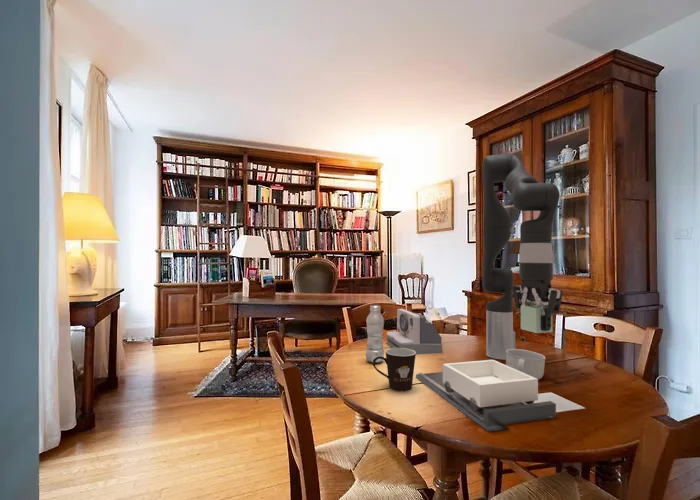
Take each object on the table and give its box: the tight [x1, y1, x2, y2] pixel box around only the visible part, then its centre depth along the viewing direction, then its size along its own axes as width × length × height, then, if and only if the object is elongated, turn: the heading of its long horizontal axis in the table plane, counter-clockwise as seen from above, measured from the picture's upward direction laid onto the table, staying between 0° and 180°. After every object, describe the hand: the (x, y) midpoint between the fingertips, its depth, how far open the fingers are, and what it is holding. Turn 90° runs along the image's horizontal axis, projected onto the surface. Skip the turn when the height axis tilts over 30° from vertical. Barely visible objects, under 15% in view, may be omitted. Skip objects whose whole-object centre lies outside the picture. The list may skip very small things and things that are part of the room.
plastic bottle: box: [365, 304, 385, 364], centre depth 121 cm, size 6×7×20 cm
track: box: [415, 371, 557, 433], centre depth 92 cm, size 34×18×4 cm, turn 15°
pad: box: [534, 391, 585, 413], centre depth 86 cm, size 10×10×1 cm
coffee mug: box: [372, 347, 417, 392], centre depth 99 cm, size 12×9×10 cm
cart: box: [442, 359, 539, 411], centre depth 87 cm, size 16×16×7 cm
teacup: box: [505, 348, 546, 381], centre depth 104 cm, size 14×11×8 cm
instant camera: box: [386, 308, 443, 355], centre depth 142 cm, size 21×21×15 cm
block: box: [520, 304, 553, 334], centre depth 87 cm, size 5×5×6 cm
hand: (536, 328), depth 87 cm, fingers closed on block, 5 cm apart
